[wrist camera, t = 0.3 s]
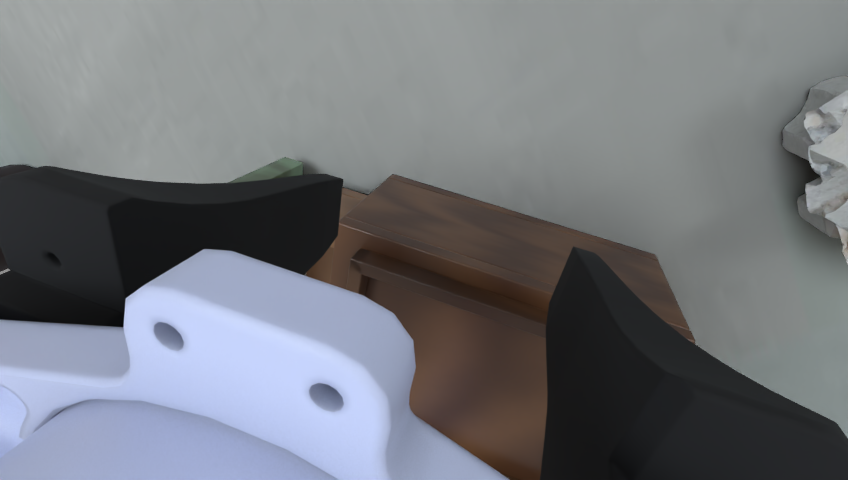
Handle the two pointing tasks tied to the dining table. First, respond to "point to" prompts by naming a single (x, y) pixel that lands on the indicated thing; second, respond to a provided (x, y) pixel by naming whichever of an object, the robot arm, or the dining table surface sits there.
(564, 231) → the cabinet
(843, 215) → the egg carton
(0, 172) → the bottle
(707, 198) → the dining table surface
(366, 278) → the brown wooden tray
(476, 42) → the dining table surface
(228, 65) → the dining table surface
